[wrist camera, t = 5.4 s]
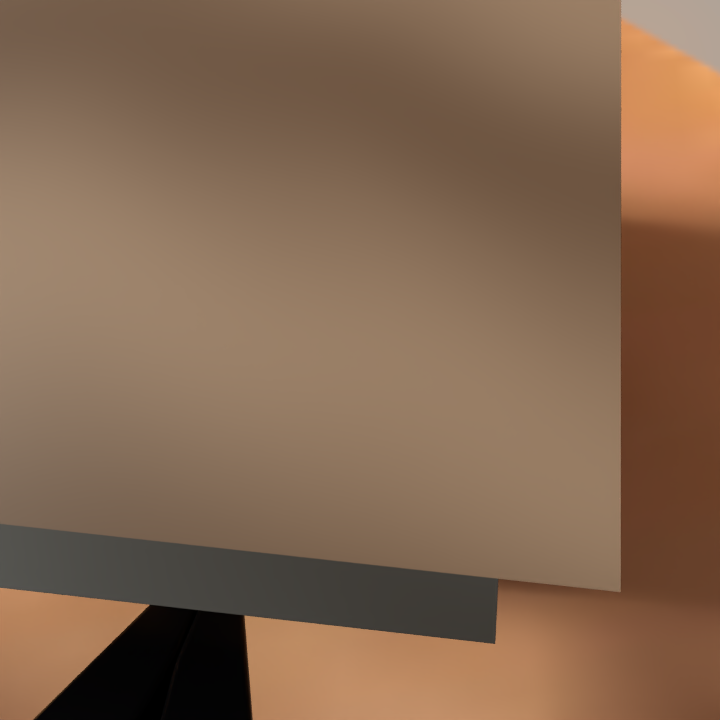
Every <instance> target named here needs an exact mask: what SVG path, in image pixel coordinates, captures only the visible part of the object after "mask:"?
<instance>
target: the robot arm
mask: <svg viewBox="0 0 720 720" xmlns="http://www.w3.org/2000/svg"><path fill="white" fill-rule="evenodd" d="M33 720H253V718H252V705H251V693H250V680H249V667H248V655H247V642H246V630H245V617H244V615H237V614H229V613H220V612H211V611H202V610H193V609H185V608H176V607H167V606H158V605H149V606H148V607H147V608H146V609H145V610H144V611H143V612H142V613H141V614H140V615H139V616H138V617H137V618H136V619H135V620H134V621H133V622H132V623H131V624H130V625H129V626H128V627H127V628H126V629H125V630H124V631H123V632H122V633H121V634H120V635H119V636H118V637H117V638H116V639H115V640H114V641H113V642H112V643H111V644H110V645H109V646H108V647H107V648H106V649H105V650H104V651H103V652H102V653H101V654H100V655H99V656H97V657H96V658H95V659H94V660H93V661H92V662H91V663H90V664H89V665H88V666H87V667H86V668H85V669H84V670H83V671H82V672H81V673H80V674H79V675H78V676H77V677H76V678H75V679H74V680H73V681H72V682H71V683H70V684H69V685H68V686H67V687H66V688H65V689H64V690H63V691H62V692H61V693H60V694H59V695H58V696H57V697H56V698H55V699H54V700H53V701H52V702H51V703H50V704H49V705H48V706H47V707H46V708H45V709H43V710H42V711H41V712H40V713H39V714H38V715H37V716H36V717H35V718H34V719H33Z"/></svg>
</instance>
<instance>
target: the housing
mask: <svg viewBox="0 0 720 720" xmlns="http://www.w3.org/2000/svg"><path fill="white" fill-rule="evenodd" d="M498 579H506V580H515V581H524V582H533V583H542V584H551V585H560V586H569V587H578V588H587V589H597V590H606V591H615V592H621V0H0V588H9V589H17V590H26V591H35V592H44V593H53V594H61V595H70V596H79V597H88V598H97V599H105V600H114V601H123V602H132V603H141V604H149V605H158V606H167V607H176V608H185V609H193V610H202V611H211V612H220V613H229V614H237V615H246V616H255V617H264V618H273V619H281V620H290V621H299V622H308V623H317V624H325V625H334V626H343V627H352V628H361V629H369V630H378V631H387V632H396V633H405V634H413V635H422V636H431V637H440V638H449V639H457V640H466V641H475V642H484V643H493V644H495V636H496V615H497V594H498Z"/></svg>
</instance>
